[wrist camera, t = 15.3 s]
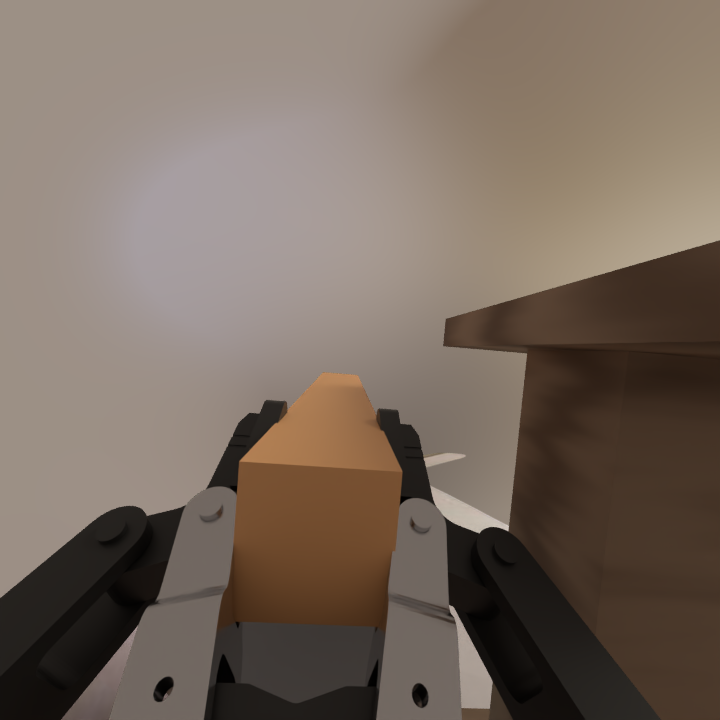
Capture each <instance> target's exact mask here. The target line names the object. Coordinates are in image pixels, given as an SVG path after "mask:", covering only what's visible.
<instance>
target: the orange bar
mask: <svg viewBox="0 0 720 720" xmlns="http://www.w3.org/2000/svg"><path fill="white" fill-rule="evenodd" d="M376 417H377V416H376V414H375V411H374V410H373V407H372V405H371V403H370V401H369V398H368V396H367V394H366V392H365V390H364V388H363V386H362V383H361V381H360V379H359V377H358V375H349V374H338V373H325V372H323V373H322V374H321V375H320V376H319V377H318V379H317V380H316V381H315V382H314V383H313V384H312V385H311V386H310V387H309V388H308V389H307V390H306V391H305V392H304V393H303V394H302V396H301V397H300V398H299V399H298V400H297V401H296V402H295V403H294V404H293V405H292V406H291V407H290V408H289V409H288V410H287V414H286V415H285V416H284V417H283V418H282V419H281V420H280V421H279V422H278V423H275V424H274V425H273V426H272V427H271V428H270V429H269V430H268V431H267V433H266V434H265V435H264V436H263V437H262V438H261V439H260V440H259V441H258V442H257V443H256V444H255V445H254V446H253V447H252V448H251V449H250V451H249V452H248V453H247V454H246V455H245V456H244V457H243V458H242V459H241V460H240V461H239V472H238V486H237V500H236V513H235V527H234V541H233V543H234V563H235V569H234V577H233V585H232V599H231V605H232V612H233V616H234V619H235V622H261V623H288V624H314V625H341V626H368V627H378V625H379V622H380V619H381V616H382V612H383V606H384V600H385V593H386V584H387V576H388V570H389V565H390V560H391V555H392V551H395V550H396V539H397V528H398V517H399V506H400V495H401V484H402V473H403V472H402V470H401V467H400V465H399V463H398V461H397V459H396V457H395V454H394V452H393V450H392V448H391V446H390V444H389V442H388V439H387V437H386V435H385V433H384V431H381V429H380V427H379V425H378V422H377V420H376Z"/></svg>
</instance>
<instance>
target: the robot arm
mask: <svg viewBox="0 0 720 720" xmlns="http://www.w3.org/2000/svg"><path fill="white" fill-rule="evenodd" d="M286 414H287V402H286V401H272V400H266V401H265V402H264V404H263V407H262V409H261V412H260V414H256V413H249V414H248V415H247V416H246V417H245V418H244V419H242V420H241V421H240V422H239V423H238V426H237V427H236V430H235V432H234V434H233V437H232V438H231V440H230V442H229V444H228V447H227V448H226V451H225V452H224V454H223V456H222V458H221V461H220V462H219V465H218V467H217V469H216V471H215V473H214V475H213V477H212V479H211V481H210V483H209V485H208V487H207V488H206V490H203V491H201V492H200V493H198V494H197V495H195V496H194V497H193V498H192V499H191V500H190V501H189V502H188V504H187V505H186V506H183V507H181V508H178V509H174V510H170V511H166V512H162V513H158V514H154V515H149V516H146V514H145V512H144V511H143V510H142V509H141V508H138V507H135V506H124V507H119V508H116V509H113V510H111V511H109V512H106V513H105V514H103V515H101V516H100V517H98V518H97V519H96V520H94V521H93V522H92V523H91V524H89V525H88V526H87V527H86V528H85V529H83V530H82V531H81V532H80V533H79V534H77V535H76V536H75V537H74V538H73V539H71V540H70V541H69V542H68V543H66V544H65V545H64V546H63V547H62V548H60V549H59V550H58V551H57V552H56V553H54V554H53V555H52V556H51V557H49V558H48V559H47V560H46V561H45V562H44V563H42V564H41V565H40V566H39V567H37V568H36V569H35V570H34V571H33V572H31V573H30V574H29V575H28V576H27V577H25V578H24V579H23V580H22V581H21V582H19V583H18V584H17V585H16V586H14V587H13V588H12V589H11V590H10V591H8V592H7V593H6V594H5V595H4V596H2V597H1V598H0V720H61V719H62V718H63V716H64V715H65V714H66V713H67V711H68V710H69V709H70V708H71V707H72V705H73V704H74V703H75V702H76V700H77V699H78V698H79V697H80V696H81V694H82V693H83V692H84V691H85V689H86V688H87V687H88V686H89V685H90V683H91V682H92V681H93V680H94V678H95V677H96V676H97V675H98V674H99V672H100V671H101V670H102V669H103V667H104V666H105V665H106V664H107V663H108V661H109V660H110V659H111V658H112V656H113V655H114V654H115V653H116V652H117V650H118V649H119V648H120V647H121V645H122V644H123V643H124V642H125V641H126V639H127V638H128V637H129V636H130V634H131V633H132V632H133V631H134V630H135V628H136V627H137V626H138V628H137V631H136V634H135V638H134V641H133V644H132V647H131V650H130V654H129V657H128V660H127V663H126V666H125V670H124V673H123V676H122V679H121V682H120V686H119V689H118V692H117V695H116V698H115V702H114V705H113V708H112V711H111V714H110V717H109V720H462V711H461V691H460V671H459V651H458V635H457V627H456V622H455V619H454V617H453V615H451V613H450V609H449V605H451V606H453V607H454V608H455V610H456V612H457V614H458V616H459V618H460V620H461V621H462V623H463V625H464V627H465V629H466V631H467V633H468V635H469V637H470V639H471V641H472V642H473V644H474V646H475V648H476V650H477V652H478V654H479V656H480V658H481V660H482V662H483V663H484V665H485V667H486V669H487V671H488V673H489V675H490V677H491V679H492V681H493V683H494V684H495V686H496V688H497V690H498V692H499V694H500V696H501V698H502V700H503V702H504V704H505V705H506V707H507V709H508V711H509V713H510V715H511V717H512V719H513V720H661V719H660V717H659V716H658V715H657V714H656V712H655V711H654V710H653V709H652V707H651V706H650V705H649V704H648V702H647V701H646V700H645V698H644V697H643V696H642V695H641V693H640V692H639V691H638V690H637V688H636V687H635V686H634V684H633V683H632V682H631V681H630V679H629V678H628V677H627V676H626V674H625V673H624V672H623V671H622V669H621V668H620V667H619V665H618V664H617V663H616V662H615V660H614V659H613V658H612V657H611V655H610V654H609V653H608V651H607V650H606V649H605V648H604V646H603V645H602V644H601V643H600V641H599V640H598V639H597V637H596V636H595V635H594V634H593V632H592V631H591V630H590V629H589V627H588V626H587V625H586V624H585V622H584V621H583V620H582V618H581V617H580V616H579V615H578V613H577V612H576V611H575V610H574V608H573V607H572V606H571V604H570V603H569V602H568V601H567V599H566V598H565V597H564V596H563V594H562V593H561V592H560V591H559V589H558V588H557V587H556V585H555V584H554V583H553V582H552V580H551V579H550V578H549V577H548V575H547V574H546V573H545V571H544V570H543V569H542V568H541V566H540V565H539V564H538V563H537V561H536V560H535V559H534V557H533V556H532V555H531V554H530V552H529V551H528V550H527V549H526V547H525V546H524V545H523V544H522V543H521V541H520V540H519V539H518V538H516V537H515V536H514V535H513V534H511V533H510V532H508V531H506V530H504V529H501V528H497V527H489V528H486V529H484V530H482V531H481V532H480V534H479V533H476V532H474V531H471V530H469V529H466V528H464V527H461V526H458V525H456V524H454V523H452V522H451V521H449V520H448V519H447V518H445V517H444V516H443V515H442V513H441V512H440V510H439V509H438V508H437V507H436V505H435V503H434V501H433V497H432V493H431V488H430V484H429V479H428V475H427V470H426V466H425V461H424V457H423V452H422V450H421V444H420V439H419V435H418V434H417V433H416V431H415V430H414V429H413V427H412V426H411V425H406V424H400V419H399V413H398V410H391V409H378V411H377V417H376V420H377V422H378V425H379V427H380V429H381V431H384V433H385V435H386V437H387V439H388V442H389V444H390V446H391V448H392V450H393V452H394V454H395V457H396V459H397V461H398V463H399V465H400V467H401V470H402V472H403V473H402V484H401V495H400V506H399V517H398V528H397V539H396V550H395V551H392V555H391V560H390V565H389V570H388V576H387V584H386V593H385V600H384V606H383V612H382V616H381V619H380V622H379V625H378V627H374V632H373V638H372V644H371V648H370V654H369V659H368V666H367V672H366V679H365V686H345V687H342V688H339V689H336V690H334V691H331V692H328V693H325V694H323V695H320V696H317V697H314V698H312V699H309V700H306V701H303V702H300V703H292V702H289V701H287V700H285V699H282V698H280V697H278V696H276V695H273V694H271V693H269V692H267V691H264V690H262V689H260V688H258V687H255V686H253V685H251V684H248V683H241V674H242V656H243V644H242V627H243V622H235V619H234V616H233V612H232V605H231V599H232V585H233V577H234V569H235V563H234V543H233V541H234V527H235V513H236V500H237V486H238V472H239V461H240V460H241V459H242V458H243V457H244V456H245V455H246V454H247V453H248V452H249V451H250V449H251V448H252V447H253V446H254V445H255V444H256V443H257V442H258V441H259V440H260V439H261V438H262V437H263V436H264V435H265V434H266V433H267V431H268V430H269V429H270V428H271V427H272V426H273V425H274V424H275V423H278V422H279V421H280V420H281V419H282V418H283V417H284V416H285V415H286ZM166 693H167V694H168V698H167V699H165V700H164V701H163V697H164V695H165V694H166Z"/></svg>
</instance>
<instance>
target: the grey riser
mask: <svg viewBox="0 0 720 720" xmlns="http://www.w3.org/2000/svg"><path fill="white" fill-rule="evenodd" d="M373 632H374V627H368V626H341V625H314V624H288V623H261V622H243V627H242V644H243V656H242V674H241V683H248V684H251V685H253V686H255V687H258V688H260V689H262V690H264V691H267V692H269V693H271V694H273V695H276V696H278V697H280V698H282V699H285V700H287V701H289V702H292V703H300V702H303V701H306V700H309V699H312V698H314V697H317V696H320V695H323V694H325V693H328V692H331V691H334V690H336V689H339V688H342V687H345V686H365V679H366V672H367V666H368V659H369V654H370V648H371V644H372V638H373Z"/></svg>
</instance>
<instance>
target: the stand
mask: <svg viewBox="0 0 720 720" xmlns="http://www.w3.org/2000/svg"><path fill="white" fill-rule="evenodd" d="M443 346H448V347H460V348H471V349H483V350H494V351H507V352H517V353H527V362H526V371H525V380H524V390H523V399H522V409H521V418H520V428H519V438H518V447H517V456H516V467H515V475H514V486H513V495H512V504H511V513H510V523H509V532H510V533H511V534H513V535H514V536H515V537H516V538H518V539H519V540H520V541H521V543H522V544H523V545H524V546H525V547H526V549H527V550H528V551H529V552H530V554H531V555H532V556H533V557H534V559H535V560H536V561H537V563H538V564H539V565H540V566H541V568H542V569H543V570H544V571H545V573H546V574H547V575H548V577H549V578H550V579H551V580H552V582H553V583H554V584H555V585H556V587H557V588H558V589H559V591H560V592H561V593H562V594H563V596H564V597H565V598H566V599H567V601H568V602H569V603H570V604H571V606H572V607H573V608H574V610H575V611H576V612H577V613H578V615H579V616H580V617H581V618H582V620H583V621H584V622H585V624H586V625H587V626H588V627H589V629H590V630H591V631H592V632H593V634H594V635H595V636H596V637H597V639H598V640H599V641H600V643H601V644H602V645H603V646H604V648H605V649H606V650H607V651H608V653H609V654H610V655H611V657H612V658H613V659H614V660H615V662H616V663H617V664H618V665H619V667H620V668H621V669H622V671H623V672H624V673H625V674H626V676H627V677H628V678H629V679H630V681H631V682H632V683H633V684H634V686H635V687H636V688H637V690H638V691H639V692H640V693H641V695H642V696H643V697H644V698H645V700H646V701H647V702H648V704H649V705H650V706H651V707H652V709H653V710H654V711H655V712H656V714H657V715H658V716H659V717H660V719H661V720H720V241H716V242H713V243H709V244H706V245H702V246H699V247H695V248H692V249H688V250H685V251H681V252H678V253H674V254H671V255H667V256H664V257H660V258H657V259H653V260H650V261H647V262H643V263H639V264H636V265H632V266H629V267H626V268H622V269H619V270H615V271H612V272H608V273H605V274H602V275H598V276H594V277H591V278H588V279H584V280H581V281H577V282H573V283H570V284H566V285H563V286H560V287H556V288H552V289H549V290H545V291H542V292H539V293H535V294H532V295H528V296H525V297H521V298H517V299H514V300H511V301H507V302H504V303H500V304H497V305H493V306H490V307H487V308H483V309H479V310H476V311H472V312H469V313H466V314H462V315H458V316H455V317H451V318H448V319H446V323H445V334H444V344H443ZM461 711H462V720H513V719H512V717H511V715H510V713H509V711H508V709H507V707H506V705H505V704H504V702H503V700H502V698H501V696H500V694H499V692H498V690H497V688H496V686H495V684H494V683H493V685H492V694H491V704H490V709H471V708H461Z"/></svg>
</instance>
